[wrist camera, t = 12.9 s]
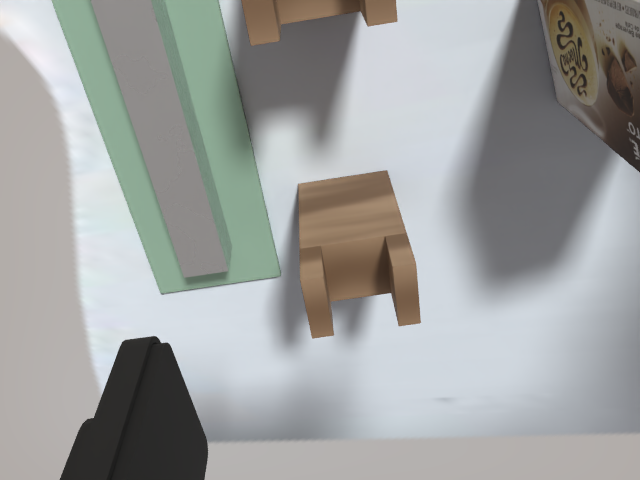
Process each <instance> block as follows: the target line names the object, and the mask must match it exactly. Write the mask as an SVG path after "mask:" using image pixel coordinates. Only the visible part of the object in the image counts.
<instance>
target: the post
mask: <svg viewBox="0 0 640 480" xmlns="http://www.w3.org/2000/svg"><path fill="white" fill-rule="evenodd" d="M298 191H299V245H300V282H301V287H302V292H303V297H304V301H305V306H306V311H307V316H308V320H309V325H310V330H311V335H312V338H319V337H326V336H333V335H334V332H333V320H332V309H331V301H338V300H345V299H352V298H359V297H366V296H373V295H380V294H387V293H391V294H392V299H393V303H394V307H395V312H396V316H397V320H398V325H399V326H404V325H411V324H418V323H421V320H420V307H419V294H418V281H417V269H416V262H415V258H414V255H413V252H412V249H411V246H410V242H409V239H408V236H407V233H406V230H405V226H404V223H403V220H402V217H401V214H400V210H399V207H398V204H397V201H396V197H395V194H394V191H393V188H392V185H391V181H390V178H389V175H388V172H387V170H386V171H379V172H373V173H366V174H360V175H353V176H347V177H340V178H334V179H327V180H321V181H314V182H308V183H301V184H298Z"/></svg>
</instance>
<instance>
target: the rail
mask: <svg viewBox="0 0 640 480" xmlns="http://www.w3.org/2000/svg"><path fill="white" fill-rule="evenodd" d="M91 3H92V6H93V9H94V12H95V15H96V18H97V21H98V24H99V27H100V30H101V33H102V36H103V39H104V42H105V45H106V48H107V51H108V54H109V57H110V59H111V62H112V65H113V68H114V71H115V74H116V77H117V80H118V83H119V86H120V89H121V92H122V95H123V98H124V101H125V104H126V107H127V110H128V113H129V116H130V119H131V122H132V125H133V128H134V131H135V134H136V136H137V139H138V142H139V145H140V148H141V151H142V154H143V157H144V160H145V163H146V166H147V169H148V172H149V175H150V178H151V181H152V184H153V187H154V190H155V193H156V196H157V199H158V202H159V205H160V208H161V211H162V213H163V216H164V219H165V222H166V225H167V228H168V231H169V234H170V237H171V240H172V243H173V246H174V249H175V252H176V255H177V258H178V261H179V264H180V267H181V270H182V273H183V276H184V278H185V277H192V276H199V275H206V274H213V273H220V272H226V271H229V264H230V258H231V252H232V244H231V240H230V236H229V233H228V229H227V225H226V222H225V218H224V214H223V211H222V207H221V204H220V200H219V196H218V193H217V189H216V185H215V182H214V178H213V174H212V171H211V167H210V163H209V160H208V156H207V152H206V149H205V145H204V141H203V138H202V134H201V130H200V127H199V123H198V120H197V116H196V112H195V109H194V105H193V101H192V98H191V94H190V90H189V87H188V83H187V79H186V76H185V72H184V68H183V65H182V61H181V57H180V54H179V50H178V47H177V43H176V39H175V36H174V32H173V28H172V25H171V21H170V17H169V14H168V10H167V6H166V3H165V0H91Z"/></svg>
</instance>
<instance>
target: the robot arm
mask: <svg viewBox="0 0 640 480" xmlns="http://www.w3.org/2000/svg"><path fill="white" fill-rule="evenodd" d="M207 458H208V445H207V440H206V436H205V434H204V431H203V428H202V426H201V423H200V421H199V418H198V416H197V413H196V410H195V408H194V405H193V403H192V400H191V397H190V395H189V392H188V390H187V387H186V384H185V382H184V379H183V377H182V374H181V372H180V369H179V366H178V364H177V361H176V359H175V356H174V353H173V351H172V348H171V346H170V344H169V343H161V342H160V340H159V339H158V338H157V337H156V336H152V337H145V338H137V339H130V340H125V341H123V342H122V344H121V346H120V348H119V351H118V354H117V356H116V359H115V362H114V365H113V367H112V370H111V373H110V375H109V378H108V381H107V383H106V386H105V389H104V392H103V394H102V397H101V400H100V402H99V405H98V408H97V411H96V413H95V416H94V418H91V419H87V420H86V421H85V422H84V423H83V424H82V426H81V428H80V430H79V432H78V434H77V437H76V439H75V442H74V444H73V447H72V450H71V452H70V455H69V457H68V460H67V462H66V465H65V468H64V470H63V473H62V475H61V478H60V480H204V478H205V472H206V465H207Z"/></svg>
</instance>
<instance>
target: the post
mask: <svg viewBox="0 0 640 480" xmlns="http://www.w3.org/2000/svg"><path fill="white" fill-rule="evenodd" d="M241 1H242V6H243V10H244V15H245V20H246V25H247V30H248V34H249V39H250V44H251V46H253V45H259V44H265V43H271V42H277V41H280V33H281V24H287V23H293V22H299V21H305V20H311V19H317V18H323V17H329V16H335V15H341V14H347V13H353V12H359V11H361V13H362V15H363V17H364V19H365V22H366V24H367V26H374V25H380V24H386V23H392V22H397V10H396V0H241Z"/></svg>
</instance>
